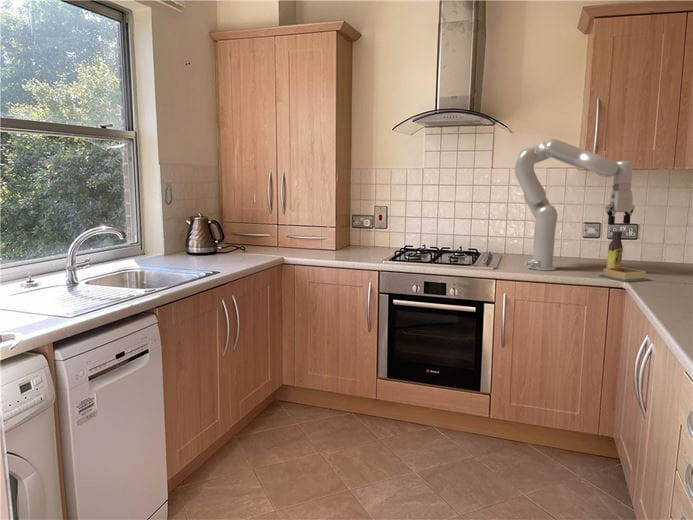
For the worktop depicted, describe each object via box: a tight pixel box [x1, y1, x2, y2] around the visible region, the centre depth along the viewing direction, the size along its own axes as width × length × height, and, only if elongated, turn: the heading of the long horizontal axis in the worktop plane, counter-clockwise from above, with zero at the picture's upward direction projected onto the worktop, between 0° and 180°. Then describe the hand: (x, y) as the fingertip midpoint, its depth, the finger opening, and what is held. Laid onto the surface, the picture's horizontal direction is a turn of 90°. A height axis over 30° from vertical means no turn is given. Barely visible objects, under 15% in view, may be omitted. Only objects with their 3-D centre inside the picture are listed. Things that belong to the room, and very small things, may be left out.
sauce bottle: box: [605, 230, 624, 268], centre depth 250 cm, size 6×6×20 cm
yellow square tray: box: [599, 266, 650, 283], centre depth 237 cm, size 14×14×4 cm
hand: (618, 224), depth 248 cm, fingers open, 9 cm apart
